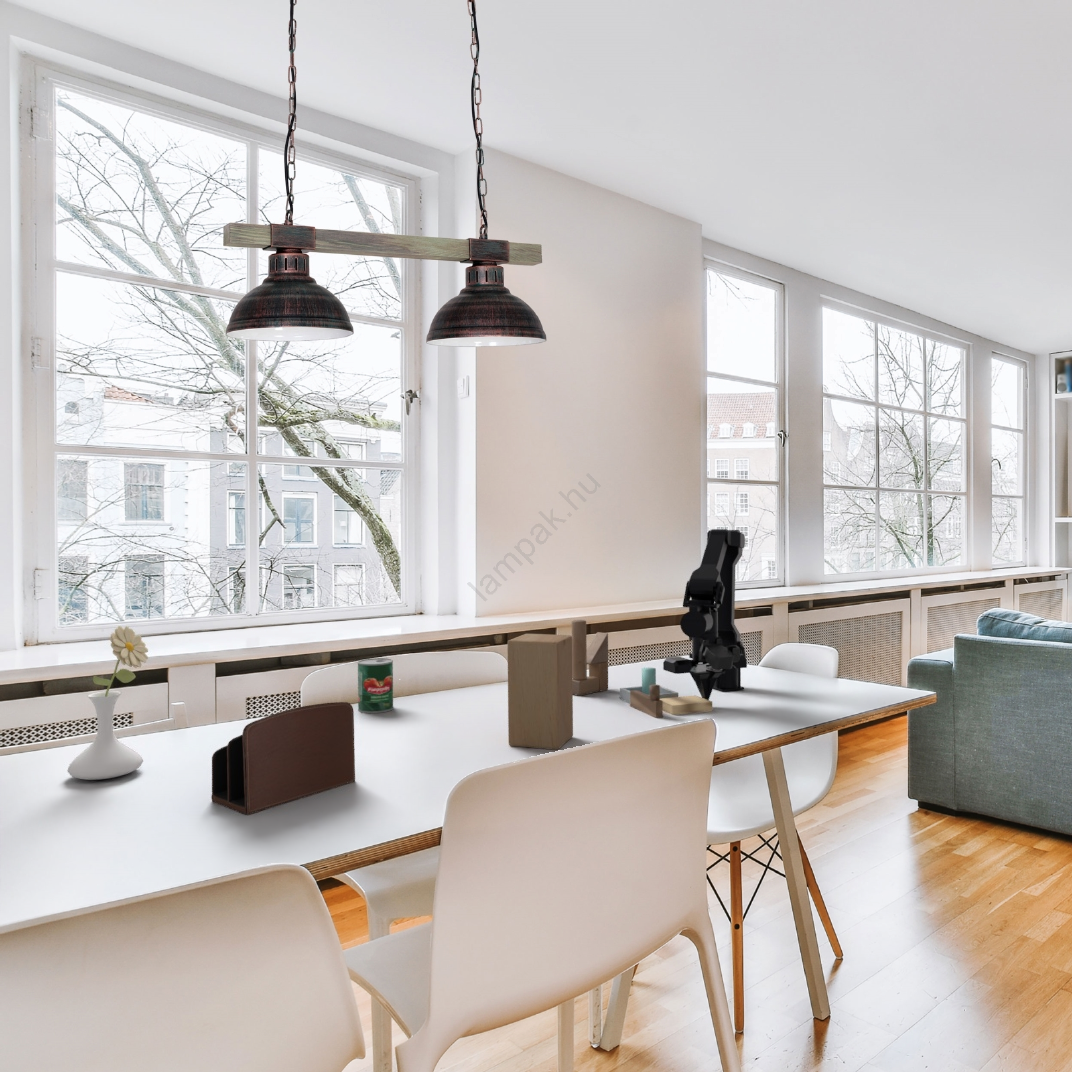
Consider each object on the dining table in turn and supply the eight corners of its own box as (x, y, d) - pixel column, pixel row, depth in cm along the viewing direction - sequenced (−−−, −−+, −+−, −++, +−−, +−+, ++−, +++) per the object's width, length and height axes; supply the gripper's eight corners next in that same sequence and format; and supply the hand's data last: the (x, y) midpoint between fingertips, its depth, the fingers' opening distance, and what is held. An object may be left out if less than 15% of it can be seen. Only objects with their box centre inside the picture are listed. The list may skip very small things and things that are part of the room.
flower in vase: (91, 790, 131) (88, 634, 131) (53, 779, 137) (50, 629, 137) (166, 768, 142) (163, 625, 142) (127, 759, 148) (125, 621, 148)
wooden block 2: (608, 689, 205) (608, 617, 205) (579, 696, 197) (579, 621, 197) (597, 687, 208) (597, 616, 207) (568, 694, 200) (568, 620, 200)
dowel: (651, 696, 193) (651, 667, 193) (658, 699, 190) (658, 669, 190) (639, 697, 192) (639, 668, 192) (646, 700, 189) (645, 670, 189)
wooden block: (573, 736, 161) (572, 634, 160) (558, 750, 151) (557, 642, 151) (525, 733, 164) (524, 633, 163) (507, 746, 154) (506, 640, 154)
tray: (657, 695, 198) (657, 684, 198) (678, 703, 188) (678, 692, 188) (619, 698, 194) (619, 688, 194) (639, 707, 185) (639, 696, 185)
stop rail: (637, 705, 187) (637, 677, 187) (663, 717, 176) (663, 686, 176) (629, 706, 186) (628, 677, 186) (654, 718, 175) (654, 687, 175)
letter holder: (356, 782, 134) (355, 696, 134) (246, 817, 119) (245, 720, 119) (319, 771, 141) (318, 689, 140) (210, 802, 125) (209, 710, 125)
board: (695, 706, 188) (695, 695, 188) (712, 712, 181) (712, 701, 181) (656, 710, 184) (656, 698, 184) (672, 716, 178) (672, 705, 178)
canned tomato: (374, 714, 181) (373, 665, 180) (350, 710, 185) (350, 661, 185) (400, 708, 187) (400, 660, 187) (377, 703, 192) (376, 656, 192)
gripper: (687, 639, 174) (688, 712, 174) (761, 633, 181) (762, 704, 181) (661, 632, 184) (662, 702, 185) (732, 627, 191) (733, 694, 191)
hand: (705, 700), depth 185 cm, fingers closed
